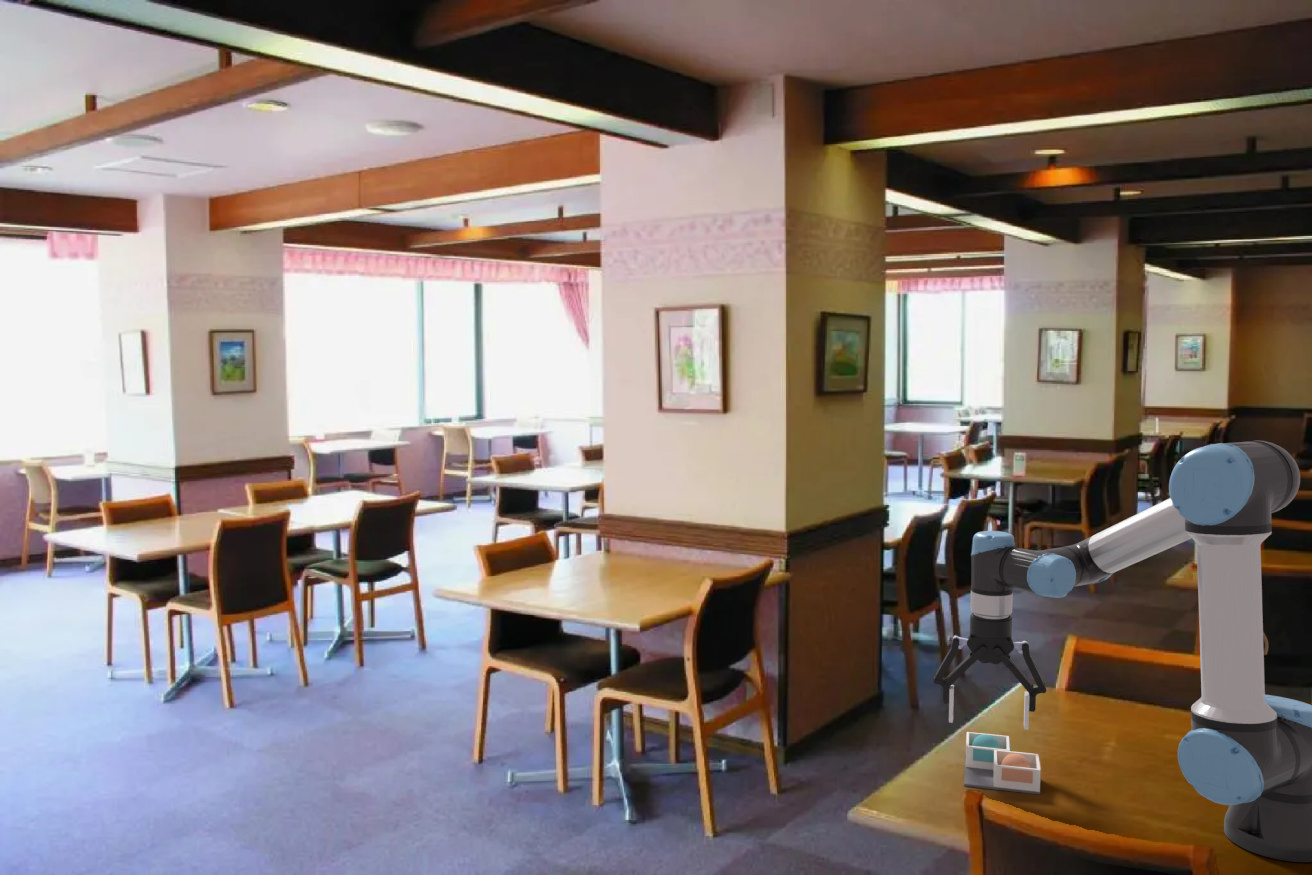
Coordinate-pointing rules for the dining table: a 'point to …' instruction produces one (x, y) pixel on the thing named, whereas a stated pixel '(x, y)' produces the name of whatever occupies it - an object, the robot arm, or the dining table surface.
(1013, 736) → the dining table surface
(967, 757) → the white square bin
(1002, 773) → the white square box
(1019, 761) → the ball terracotta
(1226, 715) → the robot arm
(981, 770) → the mat
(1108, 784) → the dining table surface
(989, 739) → the ball teal
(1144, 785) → the dining table surface
